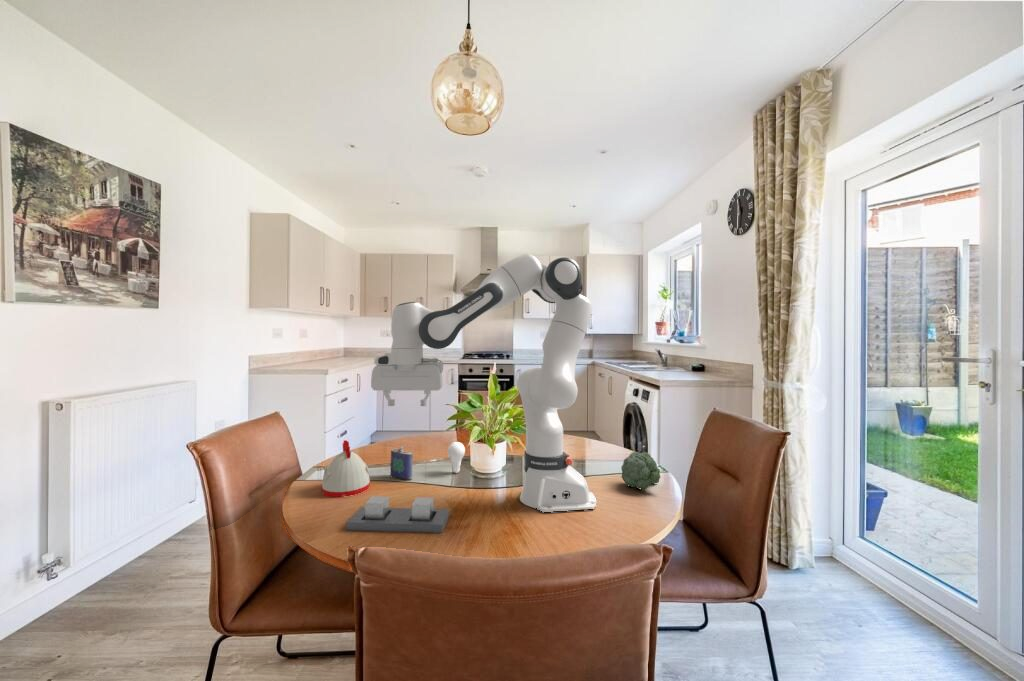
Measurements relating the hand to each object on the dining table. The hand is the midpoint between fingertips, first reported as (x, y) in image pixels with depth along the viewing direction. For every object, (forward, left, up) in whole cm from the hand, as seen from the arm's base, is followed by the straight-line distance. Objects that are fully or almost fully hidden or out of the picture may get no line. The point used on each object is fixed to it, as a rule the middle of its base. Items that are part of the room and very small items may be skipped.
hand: (407, 405), depth 116 cm
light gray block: (-8, +13, -28) cm, 32 cm away
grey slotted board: (-2, +13, -28) cm, 31 cm away
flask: (+8, -21, -28) cm, 36 cm away
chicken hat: (+22, -10, -29) cm, 37 cm away
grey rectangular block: (+4, +13, -28) cm, 31 cm away
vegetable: (-73, -18, -28) cm, 80 cm away
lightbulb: (-10, -27, -28) cm, 40 cm away
